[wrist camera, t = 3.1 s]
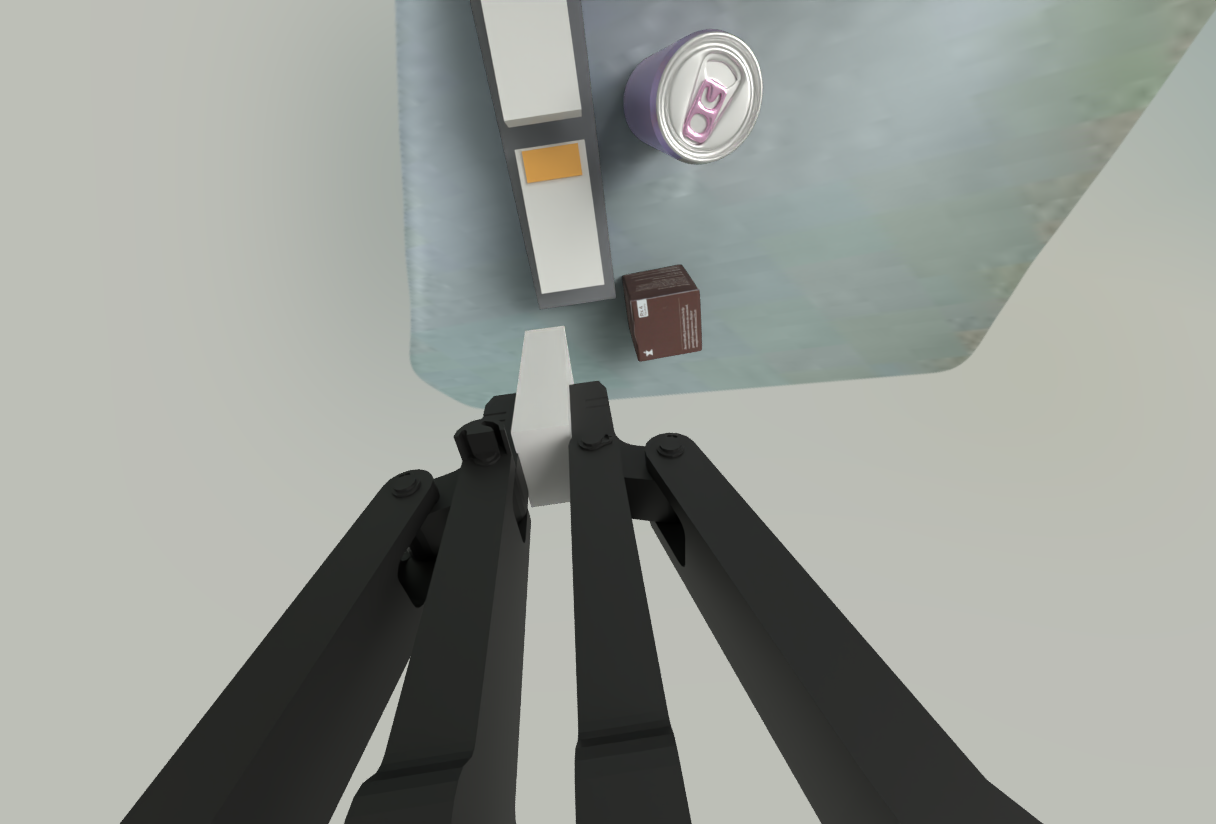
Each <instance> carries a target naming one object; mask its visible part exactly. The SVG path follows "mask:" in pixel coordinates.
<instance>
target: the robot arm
mask: <svg viewBox="0 0 1216 824" xmlns="http://www.w3.org/2000/svg"><path fill="white" fill-rule="evenodd" d="M483 415H484V417H483V418H482V419H479V420H475V421H472V422H470V423H468V424H465V425H464V426H463V427H461V428H460V429H459V430H458V431H457V432H456V433H455V435H454V439H455V442H456V444H457V447H458V450H459V453H460V455H461V458H462V465H461V468H460V469H458V470H456V471H454V472H451V473H449V474H446V475H444V476H441V477H438V478H435V479H433V477H432V475H431V474H430V473H429V472H428V471H425V470H420V469H418V470H410V471H406V472H403V473H401V474H398V475H397V476H395V477H393V478H392V479H390V480H389V481H388V482H387V483H386V484H385V485H384V486H383V487H382V488H381V490H380V491H379V492H378V493H377V495H376V496H375V497H374V498H373V500H372V501H371V502H370V504H369V505H368V506H367V508H366V509H365V510H364V511H363V513H362V514H361V515H360V516H359V518H358V519H357V520H356V522H355V523H354V524H353V525H352V527H351V528H350V529H349V530H348V532H347V533H346V534H345V536H344V537H343V538H342V539H341V541H340V542H339V543H338V545H337V546H336V547H335V548H334V550H333V551H332V552H331V554H330V555H329V556H328V557H327V559H326V560H325V561H324V562H323V564H322V565H321V566H320V568H319V569H318V570H317V572H316V573H315V574H314V575H313V577H312V578H311V579H310V580H309V582H308V583H307V584H306V586H305V587H304V588H303V590H302V591H301V592H300V593H299V595H298V596H297V597H296V598H295V600H294V601H293V602H292V604H291V605H290V606H289V607H288V609H287V610H286V611H285V613H284V614H283V615H282V617H281V618H280V619H279V620H278V622H277V623H276V624H275V625H274V627H273V628H272V629H271V631H270V632H269V633H268V634H267V636H266V637H265V638H264V639H263V641H262V642H261V643H260V645H259V646H258V647H257V648H256V650H255V651H254V652H253V654H252V655H251V656H250V658H249V659H248V660H247V661H246V663H245V664H244V665H243V667H242V668H241V669H240V670H239V672H238V673H237V674H236V675H235V677H234V678H233V679H232V681H231V682H230V683H229V685H228V686H227V687H226V688H225V689H224V691H223V692H222V693H221V695H220V696H219V697H218V698H217V700H216V701H215V702H214V704H213V705H212V706H211V707H210V709H209V710H208V711H207V713H206V714H205V715H204V716H203V718H202V719H201V720H200V721H199V723H198V724H197V725H196V727H195V728H194V729H193V730H192V732H191V733H190V734H189V736H188V737H187V738H186V739H185V741H184V742H183V743H182V745H181V746H180V747H179V749H178V750H177V751H176V752H175V754H174V755H173V756H172V757H171V759H170V760H169V761H168V763H167V764H166V765H165V766H164V768H163V769H162V770H161V772H160V773H159V774H158V775H157V777H156V778H155V779H154V781H153V782H152V783H151V784H150V786H149V787H148V788H147V789H146V791H145V792H144V794H143V795H142V796H141V797H140V799H139V800H138V801H137V802H136V804H135V805H134V806H133V808H132V809H131V810H130V811H129V813H128V814H127V815H126V816H125V818H124V819H123V820H122V822H121V823H120V824H328V823H329V821H330V819H331V817H332V815H333V813H334V811H335V809H336V807H337V805H338V803H339V801H340V799H341V797H342V795H343V793H344V791H345V789H346V787H347V785H348V782H349V781H350V778H351V777H352V774H353V772H354V770H355V768H356V766H357V764H358V762H359V760H360V758H361V756H362V754H363V752H364V750H365V748H366V746H367V744H368V742H369V740H370V738H371V736H372V733H373V732H374V730H375V728H376V726H377V723H378V721H379V719H380V717H381V715H382V713H383V711H384V709H385V707H386V705H387V703H388V701H389V699H390V697H391V695H392V693H393V691H394V689H395V687H396V685H397V683H398V681H399V678H400V677H401V674H402V672H403V671H404V668H405V666H406V664H407V662H408V660H409V658H410V661H409V665H408V668H407V672H406V676H405V680H404V684H403V687H402V691H401V695H400V699H399V702H398V707H397V710H396V714H395V717H394V721H393V725H392V729H391V732H390V736H389V740H388V744H387V748H386V752H385V755H384V758H383V761H382V763H381V766H380V767H379V769H378V771H377V772H376V773H375V774H374V775H373V776H371V777H370V778H369V779H367V780H366V781H365V782H364V783H363V784H362V785H361V787H360V788H359V790H358V792H357V793H356V795H355V796H354V798H353V801H352V803H351V806H350V809H349V811H348V814H347V816H346V819H345V823H344V824H516V820H515V794H516V777H517V758H518V741H519V739H518V738H519V724H520V723H519V722H520V706H521V688H522V670H523V653H524V635H525V618H526V617H525V616H526V599H527V582H528V565H529V546H530V529H531V519H530V515H529V511H528V496H529V500H530V504H531V507H536V506H544V505H550V504H558V503H565V502H570V504H571V505H570V506H571V534H572V563H573V590H574V619H575V648H576V676H577V702H578V703H577V704H578V742H577V745H576V749H575V805H576V824H692V823H691V818H690V813H689V808H688V802H687V797H686V792H685V787H684V781H683V776H682V771H681V766H680V761H679V756H678V751H677V746H676V742H675V737H674V733H673V730H672V728H671V724H670V720H669V716H668V710H667V705H666V700H665V694H664V690H663V684H662V678H661V673H660V667H659V662H658V657H657V652H656V646H655V641H654V636H653V630H652V625H651V619H650V614H649V609H648V604H647V598H646V593H645V587H644V582H643V576H642V571H641V566H640V560H639V555H638V550H637V545H636V539H635V534H634V528H633V523H632V519H640V520H648V521H650V523H651V526H652V528H653V529H654V531H655V533H656V535H657V537H658V539H659V540H660V542H661V544H662V546H663V547H664V549H665V551H666V553H667V554H668V556H669V558H670V560H671V561H672V563H673V565H674V567H675V568H676V570H677V572H678V574H679V575H680V577H681V579H682V581H683V582H684V584H685V586H686V587H687V589H688V591H689V593H690V594H691V596H692V598H693V600H694V602H695V603H696V605H697V607H698V608H699V610H700V612H701V614H702V615H703V617H704V619H705V621H706V623H707V624H708V626H709V628H710V629H711V631H712V633H713V635H714V636H715V638H716V640H717V642H718V644H719V645H720V647H721V649H722V650H723V652H724V654H725V656H726V657H727V659H728V661H729V662H730V664H731V666H732V668H733V670H734V671H735V673H736V675H737V677H738V678H739V680H740V682H741V684H742V685H743V687H744V689H745V691H746V692H747V694H748V696H749V698H750V699H751V701H752V703H753V705H754V706H755V708H756V710H757V712H758V713H759V715H760V717H761V719H762V720H763V722H764V724H765V725H766V727H767V729H768V731H769V733H770V734H771V736H772V738H773V740H774V741H775V743H776V745H777V747H778V748H779V750H780V752H781V753H782V755H783V757H784V759H785V760H786V762H787V764H788V766H789V767H790V769H791V771H792V773H793V775H794V776H795V778H796V780H797V781H798V783H799V785H800V787H801V789H802V790H803V792H804V794H805V795H806V797H807V799H808V801H809V802H810V804H811V806H812V808H813V809H814V811H815V813H816V815H817V816H818V818H819V820H820V822H821V823H822V824H1043V823H1041V822H1040V821H1039V820H1037V819H1036V818H1035V817H1034V816H1032V815H1031V814H1030V813H1029V812H1027V811H1026V810H1025V809H1023V808H1022V807H1021V806H1020V805H1018V804H1017V803H1016V802H1014V801H1013V800H1012V799H1011V798H1009V797H1008V796H1007V795H1005V794H1004V793H1003V792H1002V791H1000V790H999V789H998V788H997V787H995V786H994V785H993V784H991V783H990V782H989V781H988V780H986V779H985V777H984V776H983V775H982V774H981V773H980V772H979V771H978V769H977V768H976V767H975V766H974V765H973V764H972V762H971V761H970V760H969V759H968V758H967V757H966V755H965V754H964V753H963V752H962V751H961V750H960V749H959V747H958V746H957V745H956V744H955V743H954V742H953V740H952V739H951V738H950V737H949V736H948V735H947V734H946V732H945V731H944V730H943V729H942V728H941V727H940V726H939V724H938V723H937V722H936V721H935V720H934V719H933V717H932V716H931V715H930V714H929V713H928V712H927V710H926V709H925V708H924V707H923V706H922V705H921V703H920V702H919V701H918V700H917V699H916V698H915V697H914V696H913V694H912V693H911V692H910V691H909V690H908V689H907V687H906V686H905V685H904V684H903V683H902V682H901V681H900V679H899V678H898V677H897V676H896V675H895V674H894V672H893V671H892V670H891V669H890V668H889V667H888V665H887V664H886V663H885V662H884V661H883V660H882V658H881V657H880V656H879V655H878V654H877V653H876V652H875V650H874V649H873V648H872V647H871V646H870V645H869V644H868V643H867V641H866V640H865V639H864V638H863V637H862V635H861V634H860V633H859V632H858V631H857V630H856V628H855V627H854V626H853V625H852V624H851V623H850V622H849V620H847V618H846V617H845V616H844V615H843V614H842V612H841V611H840V610H839V609H838V608H837V607H836V605H835V604H834V603H833V602H832V601H831V600H830V598H828V596H827V595H826V594H825V593H824V592H823V590H822V589H821V588H820V587H819V586H818V585H817V583H816V582H815V581H814V580H813V579H812V578H811V577H810V576H809V574H808V573H807V572H806V571H805V570H804V568H803V567H802V566H801V565H800V564H799V563H798V562H797V560H795V558H794V557H793V556H792V555H791V554H790V552H789V551H788V550H787V549H786V548H785V547H784V545H783V544H782V543H781V542H780V541H779V540H778V538H777V537H776V536H775V535H774V534H773V533H772V531H771V530H770V529H769V528H768V527H767V526H766V525H765V523H764V522H763V521H762V520H761V519H760V518H759V517H758V515H757V514H756V513H755V512H754V511H753V510H752V508H751V507H750V506H749V505H748V504H747V503H746V501H745V500H744V499H743V498H742V497H741V496H740V495H739V493H738V492H737V491H736V490H735V489H734V488H733V486H732V485H731V484H730V483H729V482H728V481H727V480H726V478H725V477H724V476H723V475H722V474H721V473H720V472H719V470H718V469H717V468H716V467H715V466H714V465H713V463H712V462H711V461H710V460H709V459H708V458H707V457H706V455H705V454H704V453H703V452H702V451H701V450H700V448H699V447H698V446H697V445H696V444H695V443H694V441H692V440H691V439H689V438H688V437H687V436H684V435H681V434H678V433H665V434H659V435H657V436H655V437H653V438H651V439H650V440H649V441H648V442H647V443H646V446H636V445H630V444H627V443H625V442H623V441H621V440H620V439H619V438H618V437H617V436H616V435H615V432H614V428H613V422H612V417H611V412H610V406H609V401H608V396H607V390H606V387H605V386H604V385H602V384H601V383H600V382H599V381H593V382H586V383H579V384H574V382H573V376H572V370H571V364H570V358H569V351H568V345H567V339H566V333H565V327H564V326H559V327H551V328H543V329H536V330H528V331H525V336H524V343H523V350H522V357H521V364H520V371H519V378H518V386H517V393H513V394H506V395H499V396H494V397H493V398H492V399H491V400H490V401H489V402H488V403H487V404H486V406H485V410H484V414H483ZM410 656H411V657H410Z"/></svg>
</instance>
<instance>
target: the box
mask: <svg viewBox="0 0 1216 824" xmlns="http://www.w3.org/2000/svg"><path fill="white" fill-rule="evenodd" d="M622 281H623V288H624V295H625V303H626V310H627V317H628V323H629V329H630V333H631V336H632V340H633V344H634V347H635V351H636V354H637V358H638V361H639V362H641V361H647V360H652V359H657V358H663V357H668V356H674V355H680V354H685V353H691V352H697V351H701V350H702V331H701V309H700V291H699V289H698V288H697V287H696V285H695V283H694V282H693V280H692V279H691V277H690V276H689V274H688V273H687V271H686V270H685V269H684V267H683V266H682V265H674V266H669V267H664V268H659V269H654V270H648V271H643V272H637V273H631V274H626V275H623V276H622Z"/></svg>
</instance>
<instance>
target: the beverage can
mask: <svg viewBox="0 0 1216 824" xmlns="http://www.w3.org/2000/svg"><path fill="white" fill-rule="evenodd" d="M762 94H763V82H762V75H761V70H760V67H759V64H758V61H757V59H756V57H755V55H754V53H753V52H752V50H751V49H750V48H749V46H748V45H747V44H746V43H745V42H743V41H742V40H741V39H739V38H738V37H736V36H734V35H732V34H730V33H728V32H725V31H722V30H716V29H706V30H701V31H697V32H694V33H692V34H690V35H688V36H686V37H684V38H682V39H680V40H679V41H677V42H675V43H673V44H671V45H670V46H668V47H666V48H664V49H662V50H660V51H659V52H657V53H655V54H653V55H651V56H649V57H648V58H646V59H644V60H643V61H642V62H641V63H640V64H638V66H637V67H636V68H635V69H634V71H633V72H632V74H631V75H630V77H629V79H628V82H627V85H626V88H625V92H624V113H625V117H626V121H627V123H628V126H629V127H630V129H631V131H632V132H633V134H634V135H635V136H636V137H637V138H638V139H640V140H641V141H642V142H644V143H646V144H648V145H650V146H652V147H654V148H656V149H658V150H660V151H662V152H664V153H666V154H668V155H670V156H671V157H673V158H675V159H677V160H679V161H682V162H685V163H688V164H696V165H699V164H707V163H711V162H714V161H716V160H719V159H722V158H724V157H726V156H727V155H729V154H730V153H732V152H733V151H734V150H736V149H737V148H738V147H739V146H740V145H741V144H742V143H743V142H744V140H745V139H746V138H747V136H748V135H749V134H750V132H751V130H752V128H753V127H754V125H755V122H756V120H757V117H758V115H759V111H760V108H761V103H762Z"/></svg>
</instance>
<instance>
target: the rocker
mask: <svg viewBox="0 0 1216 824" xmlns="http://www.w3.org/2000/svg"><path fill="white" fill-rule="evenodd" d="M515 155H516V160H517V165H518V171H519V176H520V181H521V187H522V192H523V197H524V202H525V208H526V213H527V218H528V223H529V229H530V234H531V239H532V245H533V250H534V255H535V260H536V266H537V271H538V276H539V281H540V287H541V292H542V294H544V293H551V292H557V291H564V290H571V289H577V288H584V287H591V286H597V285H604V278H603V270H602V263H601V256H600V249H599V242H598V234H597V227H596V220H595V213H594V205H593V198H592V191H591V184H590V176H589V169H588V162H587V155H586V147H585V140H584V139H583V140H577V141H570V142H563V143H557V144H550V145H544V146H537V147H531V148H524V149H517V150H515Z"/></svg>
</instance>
